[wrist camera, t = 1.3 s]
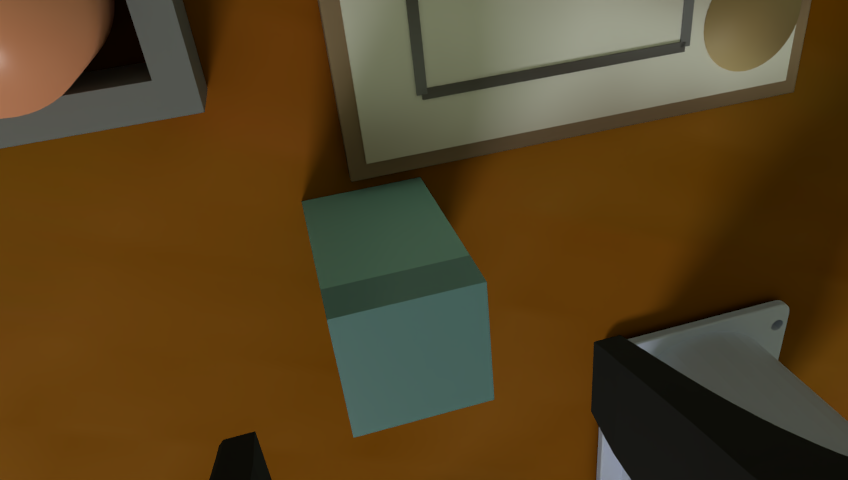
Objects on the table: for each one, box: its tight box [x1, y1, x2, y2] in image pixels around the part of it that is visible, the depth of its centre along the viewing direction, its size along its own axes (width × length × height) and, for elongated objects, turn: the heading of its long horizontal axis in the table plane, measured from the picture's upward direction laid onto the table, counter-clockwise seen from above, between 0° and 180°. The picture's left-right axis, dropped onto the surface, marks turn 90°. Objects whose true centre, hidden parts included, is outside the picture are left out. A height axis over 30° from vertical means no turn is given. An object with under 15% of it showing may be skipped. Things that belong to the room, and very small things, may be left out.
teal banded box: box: [302, 177, 494, 437], centre depth 17 cm, size 4×4×6 cm
